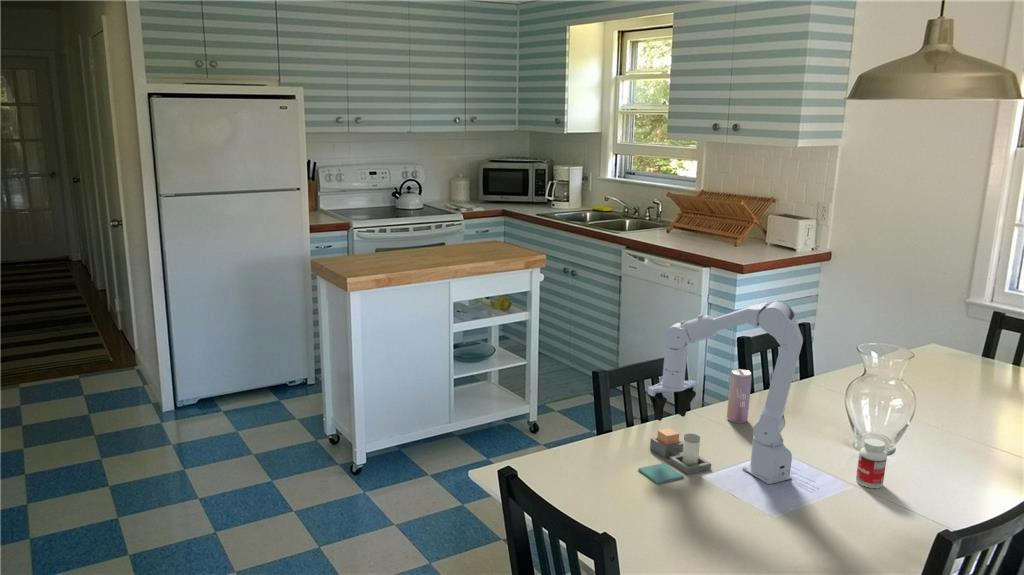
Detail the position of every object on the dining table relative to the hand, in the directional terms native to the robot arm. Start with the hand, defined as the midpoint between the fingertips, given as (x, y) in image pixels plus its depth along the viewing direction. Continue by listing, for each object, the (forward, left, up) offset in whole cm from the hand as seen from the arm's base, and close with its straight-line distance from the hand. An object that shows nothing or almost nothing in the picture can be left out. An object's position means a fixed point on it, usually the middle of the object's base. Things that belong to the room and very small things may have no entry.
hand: (669, 417), depth 206 cm
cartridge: (-10, 0, -10) cm, 14 cm away
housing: (-5, 0, -10) cm, 11 cm away
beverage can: (+9, -33, -10) cm, 36 cm away
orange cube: (0, 0, -8) cm, 8 cm away
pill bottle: (-36, -35, -10) cm, 51 cm away
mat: (-11, +10, -10) cm, 18 cm away
